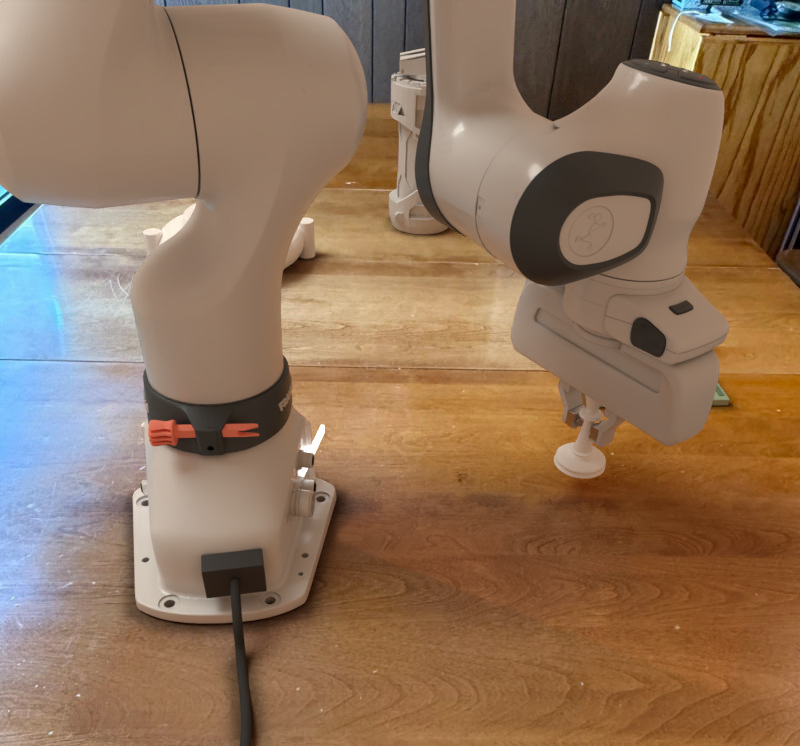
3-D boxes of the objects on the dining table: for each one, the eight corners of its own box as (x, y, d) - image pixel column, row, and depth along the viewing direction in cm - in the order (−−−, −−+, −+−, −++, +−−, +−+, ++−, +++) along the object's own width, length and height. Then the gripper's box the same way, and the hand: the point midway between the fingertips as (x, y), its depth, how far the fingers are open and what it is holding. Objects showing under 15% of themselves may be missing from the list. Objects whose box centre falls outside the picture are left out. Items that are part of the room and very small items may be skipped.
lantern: (388, 234, 122) (391, 51, 106) (388, 210, 130) (391, 36, 113) (469, 236, 123) (486, 54, 106) (465, 212, 131) (479, 39, 114)
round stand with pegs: (153, 305, 102) (142, 252, 97) (146, 236, 119) (137, 188, 114) (331, 289, 107) (329, 237, 103) (301, 225, 124) (298, 178, 120)
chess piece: (547, 469, 74) (565, 378, 67) (562, 442, 77) (581, 352, 70) (597, 484, 72) (621, 392, 65) (610, 456, 75) (635, 366, 69)
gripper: (505, 255, 67) (487, 391, 77) (695, 356, 55) (647, 503, 65) (557, 240, 70) (534, 373, 79) (749, 333, 58) (695, 477, 68)
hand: (586, 432), depth 72 cm, fingers closed on chess piece
